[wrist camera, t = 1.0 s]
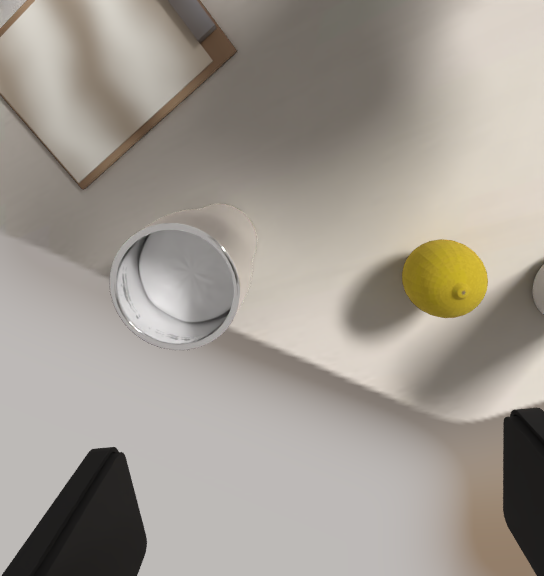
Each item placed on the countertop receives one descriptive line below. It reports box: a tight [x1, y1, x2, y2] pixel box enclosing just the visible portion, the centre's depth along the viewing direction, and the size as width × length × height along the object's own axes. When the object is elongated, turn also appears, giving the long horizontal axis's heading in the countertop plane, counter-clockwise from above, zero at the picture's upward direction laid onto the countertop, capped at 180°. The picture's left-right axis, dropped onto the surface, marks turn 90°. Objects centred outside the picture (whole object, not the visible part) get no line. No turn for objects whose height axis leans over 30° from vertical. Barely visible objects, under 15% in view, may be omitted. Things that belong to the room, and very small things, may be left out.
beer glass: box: [110, 204, 257, 350], centre depth 29 cm, size 7×7×15 cm
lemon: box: [402, 240, 488, 318], centre depth 32 cm, size 6×6×8 cm
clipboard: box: [0, 0, 237, 189], centre depth 32 cm, size 16×12×1 cm
